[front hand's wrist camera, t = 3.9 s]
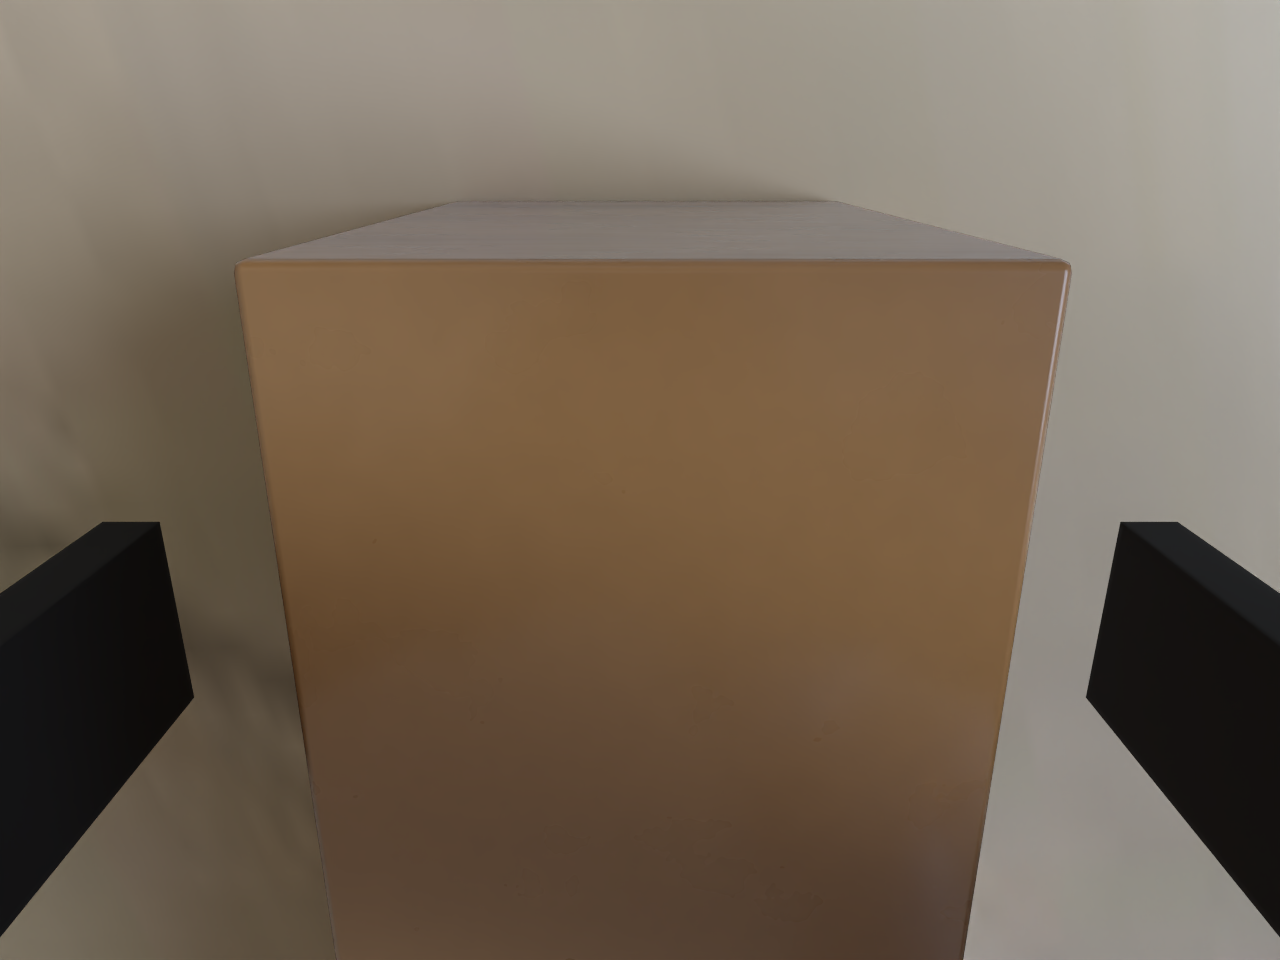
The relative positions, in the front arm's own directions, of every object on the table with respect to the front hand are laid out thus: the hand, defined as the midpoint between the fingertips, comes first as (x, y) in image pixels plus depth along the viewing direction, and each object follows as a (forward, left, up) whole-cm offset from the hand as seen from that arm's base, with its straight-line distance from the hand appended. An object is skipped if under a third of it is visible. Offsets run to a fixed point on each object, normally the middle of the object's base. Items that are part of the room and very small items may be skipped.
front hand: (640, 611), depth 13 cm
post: (-3, +30, -3) cm, 30 cm away
